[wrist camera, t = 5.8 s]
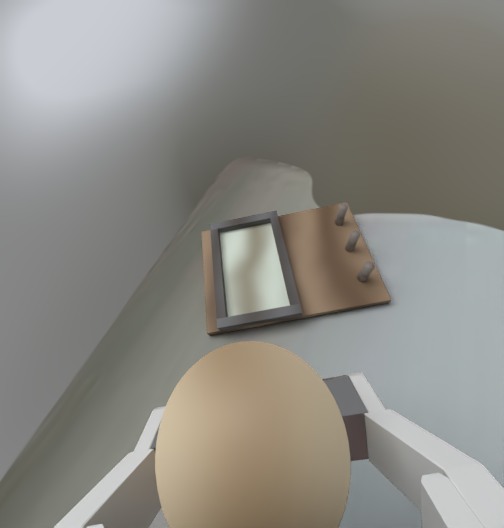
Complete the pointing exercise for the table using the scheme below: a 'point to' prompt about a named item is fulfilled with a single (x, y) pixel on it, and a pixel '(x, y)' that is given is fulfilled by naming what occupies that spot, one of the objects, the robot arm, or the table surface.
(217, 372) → the tan domed cylinder
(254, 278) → the wooden key rack
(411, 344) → the table surface
